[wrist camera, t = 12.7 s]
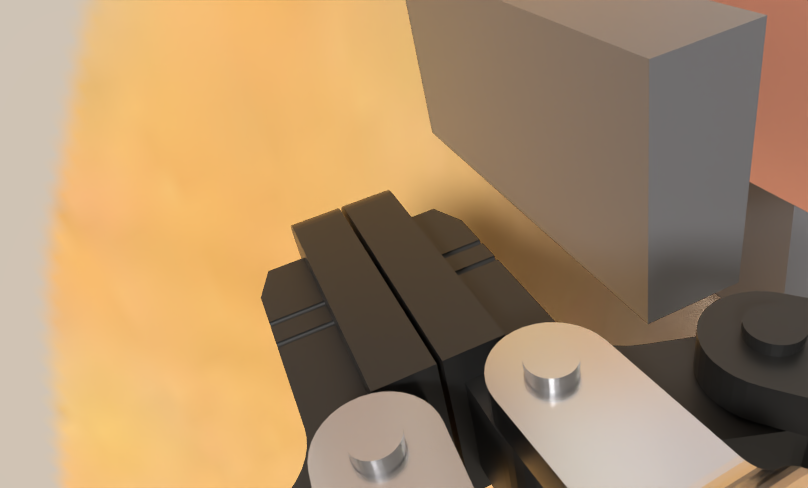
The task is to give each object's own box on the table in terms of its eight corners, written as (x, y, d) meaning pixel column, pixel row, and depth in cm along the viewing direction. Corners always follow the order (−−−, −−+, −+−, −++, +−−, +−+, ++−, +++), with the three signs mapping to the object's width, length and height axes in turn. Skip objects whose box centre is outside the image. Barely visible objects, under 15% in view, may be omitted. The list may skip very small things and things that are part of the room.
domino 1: (491, 110, 20) (738, 282, 12) (432, 132, 20) (647, 323, 12) (466, -62, 17) (767, 15, 9) (397, -41, 17) (649, 59, 9)
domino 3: (730, 16, 22) (721, 249, 28) (679, 38, 22) (681, 268, 27) (867, 54, 18) (824, 316, 24) (809, 81, 18) (779, 340, 23)
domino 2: (616, 64, 21) (926, 195, 13) (562, 84, 21) (846, 232, 13) (612, -109, 18) (1003, -75, 10) (549, -89, 18) (904, -38, 10)
